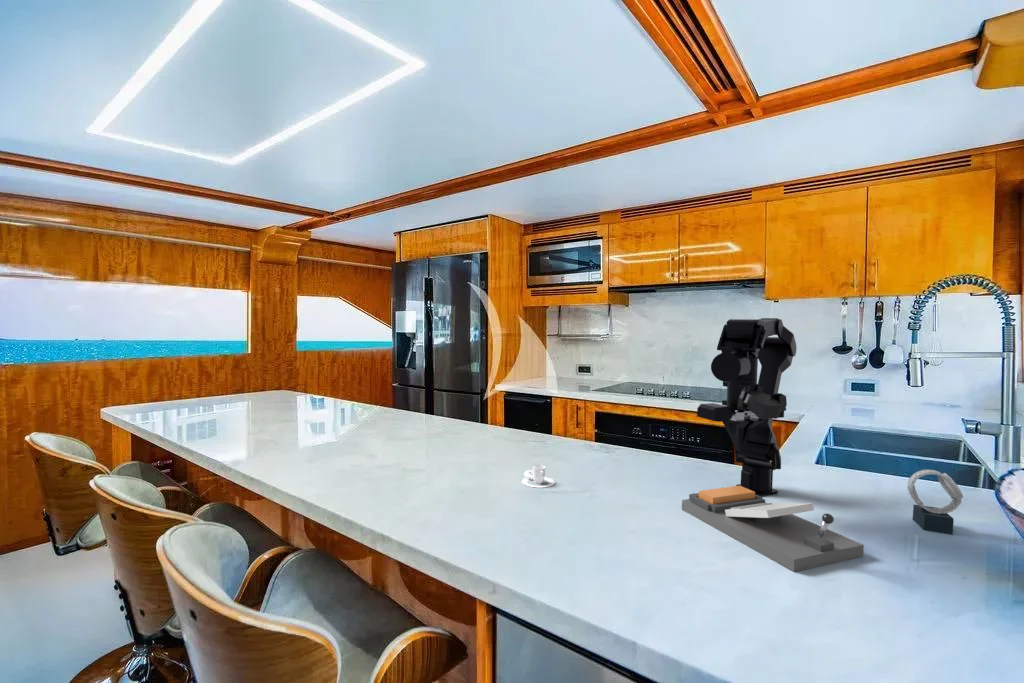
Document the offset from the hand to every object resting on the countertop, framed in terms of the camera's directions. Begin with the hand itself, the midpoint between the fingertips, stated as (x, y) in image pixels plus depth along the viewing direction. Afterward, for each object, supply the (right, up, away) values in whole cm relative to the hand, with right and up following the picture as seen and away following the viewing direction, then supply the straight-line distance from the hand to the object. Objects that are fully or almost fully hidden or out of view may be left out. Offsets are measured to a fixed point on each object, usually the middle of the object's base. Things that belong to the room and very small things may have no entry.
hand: (739, 450), depth 100 cm
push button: (-4, -10, -3) cm, 11 cm away
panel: (-1, -12, -12) cm, 17 cm away
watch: (+34, -13, -8) cm, 37 cm away
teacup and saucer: (-41, -11, +16) cm, 45 cm away
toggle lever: (+3, -9, -22) cm, 24 cm away
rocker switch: (-1, -8, -13) cm, 15 cm away
